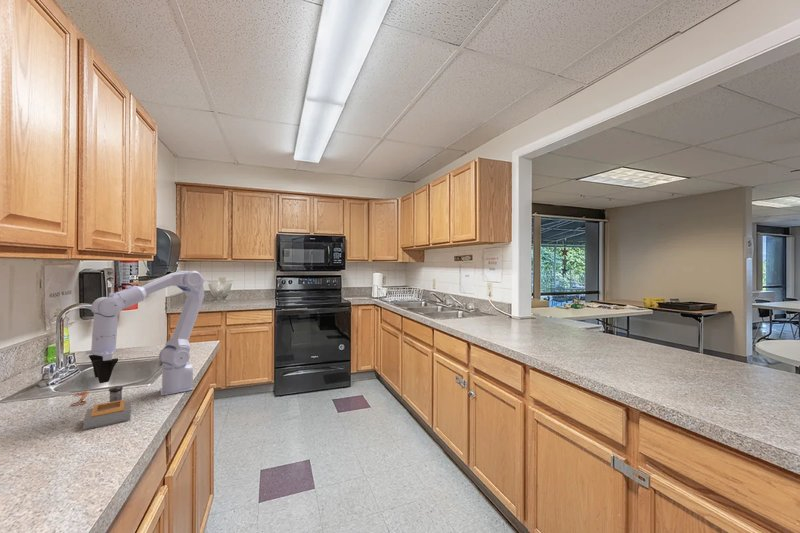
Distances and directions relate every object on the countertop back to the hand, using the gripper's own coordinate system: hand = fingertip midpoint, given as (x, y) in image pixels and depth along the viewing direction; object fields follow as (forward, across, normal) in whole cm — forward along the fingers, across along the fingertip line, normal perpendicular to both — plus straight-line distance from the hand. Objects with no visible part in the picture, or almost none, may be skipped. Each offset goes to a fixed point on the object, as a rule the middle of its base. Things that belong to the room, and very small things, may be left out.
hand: (101, 379), depth 102 cm
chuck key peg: (+10, -3, +4) cm, 11 cm away
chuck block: (+10, +9, +1) cm, 13 cm away
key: (+11, -19, -3) cm, 22 cm away
